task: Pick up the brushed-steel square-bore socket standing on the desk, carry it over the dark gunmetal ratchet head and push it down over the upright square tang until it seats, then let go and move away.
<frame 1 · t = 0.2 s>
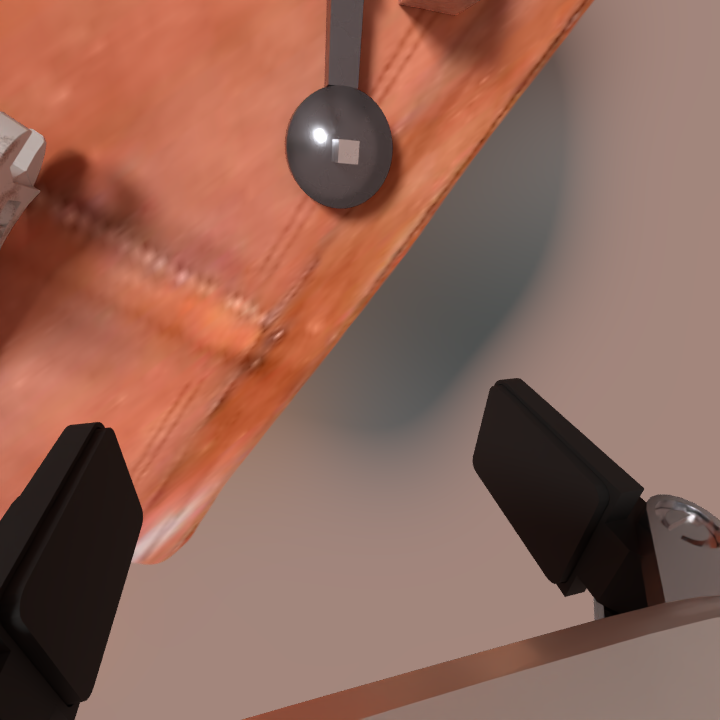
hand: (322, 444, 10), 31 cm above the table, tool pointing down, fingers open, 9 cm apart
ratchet: (336, 150, 34), on the table
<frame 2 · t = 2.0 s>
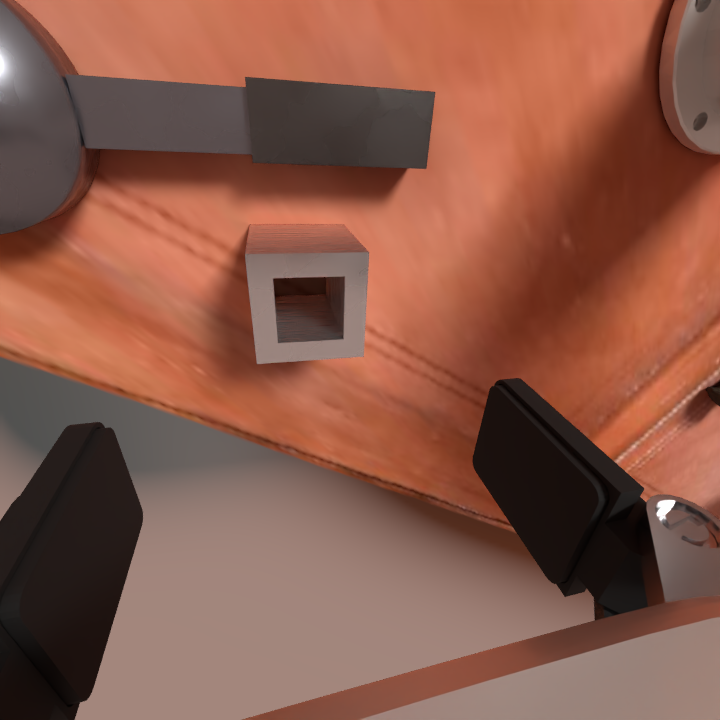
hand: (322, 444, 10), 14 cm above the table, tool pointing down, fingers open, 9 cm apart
socket: (299, 270, 22), on the table
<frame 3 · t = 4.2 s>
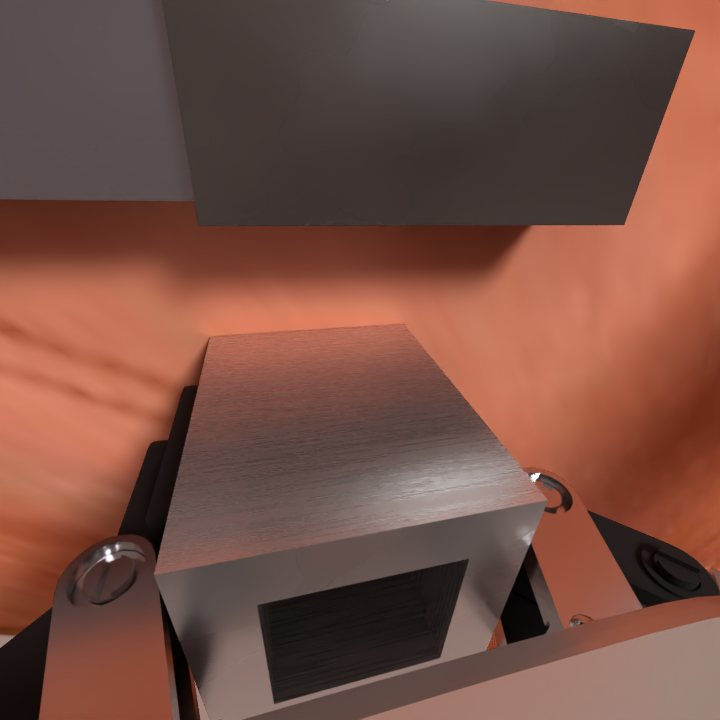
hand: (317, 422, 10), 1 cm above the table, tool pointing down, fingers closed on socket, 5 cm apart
socket: (314, 408, 11), on the table, touching gripper
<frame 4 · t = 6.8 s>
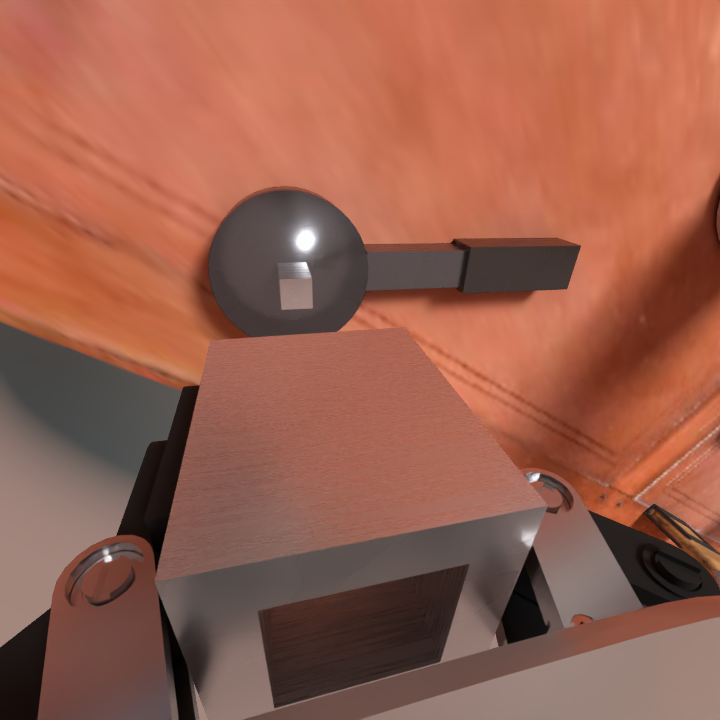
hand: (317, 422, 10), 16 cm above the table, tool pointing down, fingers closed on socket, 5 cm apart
ammunition clip: (663, 516, 52), on the table
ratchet: (289, 264, 24), on the table
socket: (314, 411, 11), point 15 cm above the table, touching gripper
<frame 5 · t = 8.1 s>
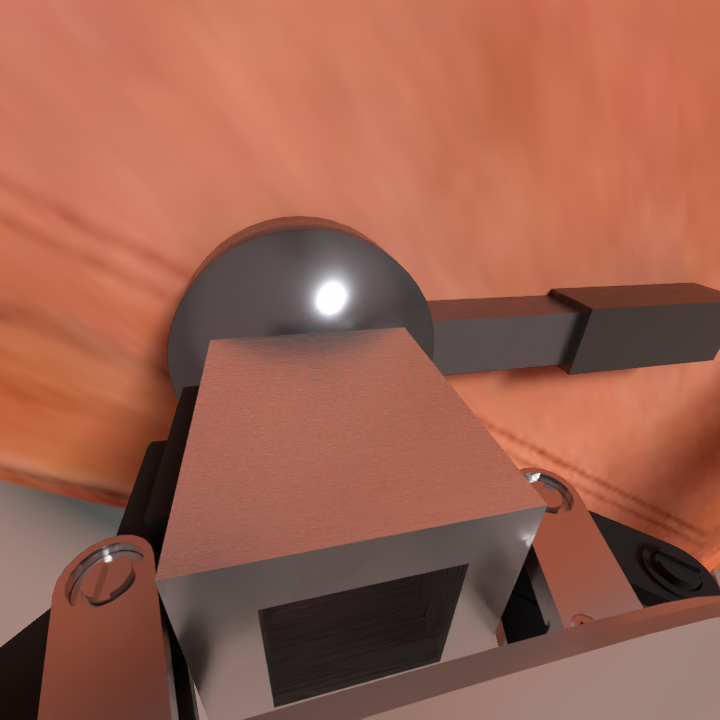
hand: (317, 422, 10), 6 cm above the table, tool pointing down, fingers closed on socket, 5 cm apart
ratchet: (304, 335, 15), on the table
socket: (314, 411, 11), point 5 cm above the table, touching gripper
when the fingers open (4 cm above the table, at t = 9.4 s): socket stays where it is, resting on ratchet.
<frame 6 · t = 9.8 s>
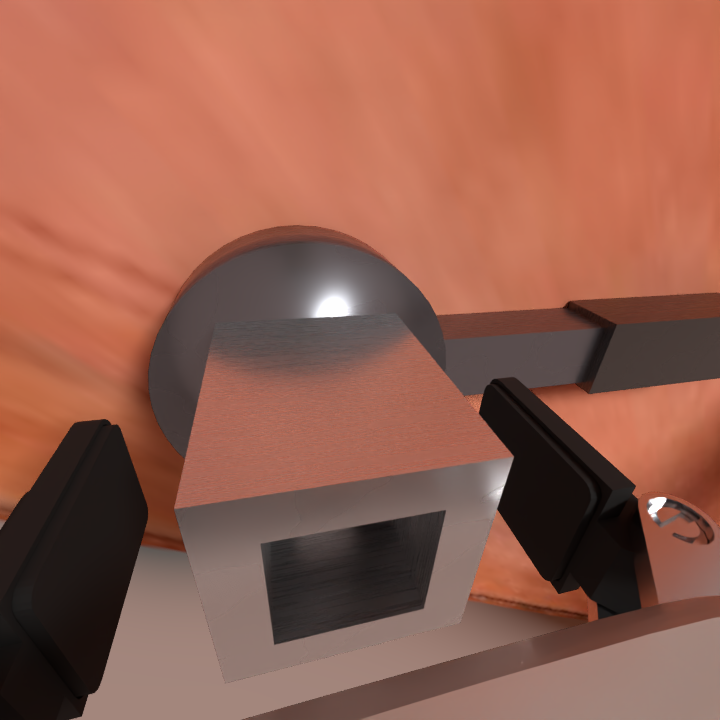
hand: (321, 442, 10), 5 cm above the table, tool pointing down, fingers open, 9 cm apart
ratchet: (302, 353, 14), on the table
socket: (312, 392, 12), point 2 cm above the table, touching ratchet
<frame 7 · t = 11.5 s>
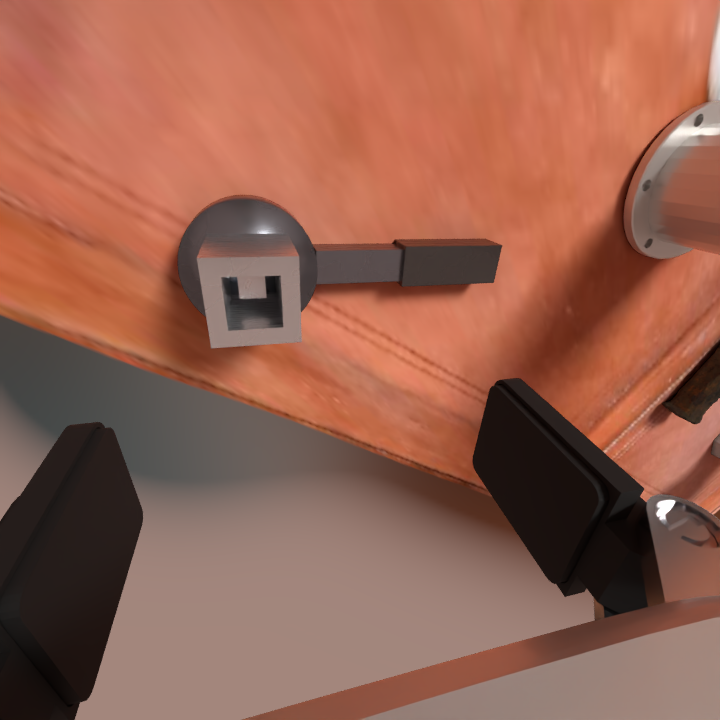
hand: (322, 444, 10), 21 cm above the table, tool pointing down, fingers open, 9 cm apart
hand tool: (712, 345, 47), on the table
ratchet: (250, 261, 27), on the table
socket: (251, 272, 25), point 2 cm above the table, touching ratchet
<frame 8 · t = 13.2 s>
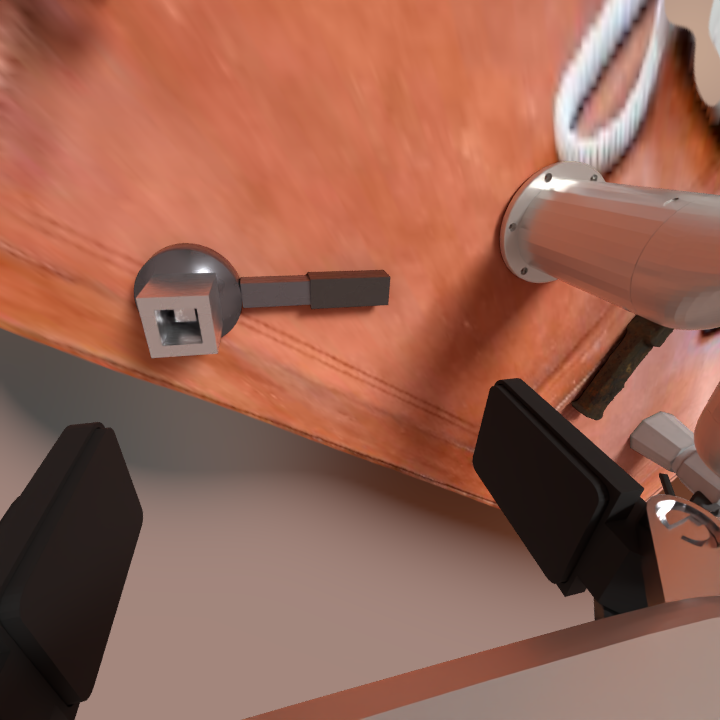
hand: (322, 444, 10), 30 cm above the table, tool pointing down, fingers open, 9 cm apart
coffee maker: (644, 433, 66), on the table
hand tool: (609, 351, 54), on the table
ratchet: (193, 290, 36), on the table
socket: (190, 300, 34), point 2 cm above the table, touching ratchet
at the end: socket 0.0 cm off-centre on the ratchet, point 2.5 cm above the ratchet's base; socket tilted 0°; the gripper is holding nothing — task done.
